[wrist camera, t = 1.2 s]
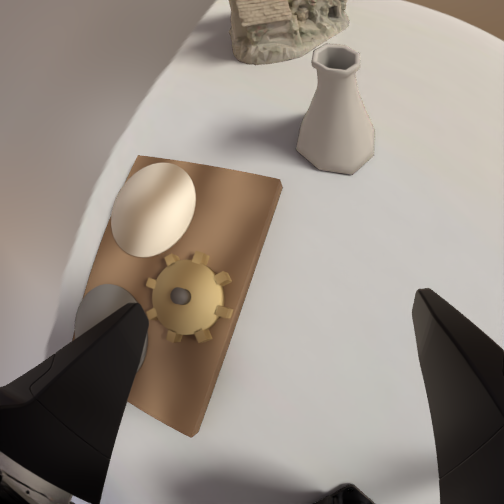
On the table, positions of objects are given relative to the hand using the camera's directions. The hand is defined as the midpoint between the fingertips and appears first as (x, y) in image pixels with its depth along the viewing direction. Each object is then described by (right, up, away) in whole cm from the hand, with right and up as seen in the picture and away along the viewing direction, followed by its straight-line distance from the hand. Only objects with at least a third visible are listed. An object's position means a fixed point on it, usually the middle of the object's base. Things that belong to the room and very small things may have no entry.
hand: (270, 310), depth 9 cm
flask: (+7, +12, +16) cm, 21 cm away
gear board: (-8, -1, +16) cm, 18 cm away
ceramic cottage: (+5, +31, +21) cm, 37 cm away
